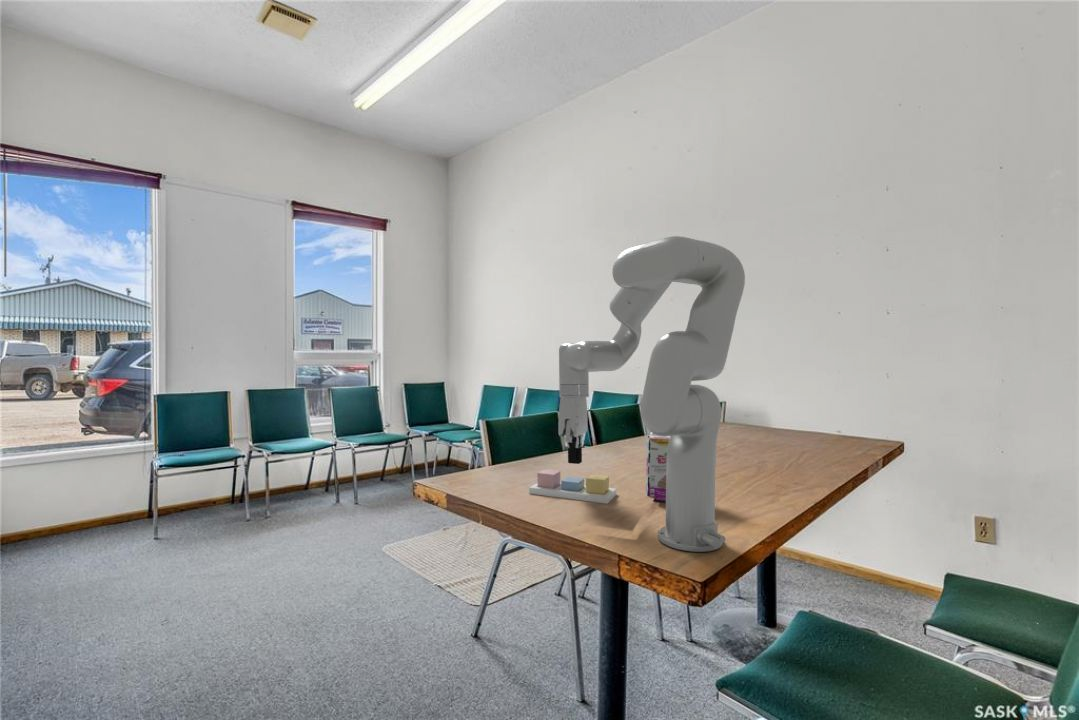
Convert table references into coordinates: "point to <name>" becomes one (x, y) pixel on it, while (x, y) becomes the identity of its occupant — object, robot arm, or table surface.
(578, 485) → the slate blue block
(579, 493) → the white rectangular tray
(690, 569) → the table surface
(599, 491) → the yellow cube
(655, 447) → the candy bar box
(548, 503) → the table surface
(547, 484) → the rose block
